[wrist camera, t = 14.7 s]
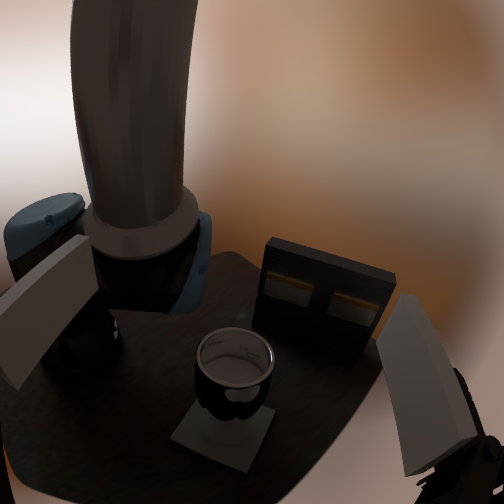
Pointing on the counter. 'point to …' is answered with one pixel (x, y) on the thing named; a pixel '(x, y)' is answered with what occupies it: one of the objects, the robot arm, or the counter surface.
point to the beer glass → (231, 382)
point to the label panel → (320, 298)
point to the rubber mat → (230, 456)
